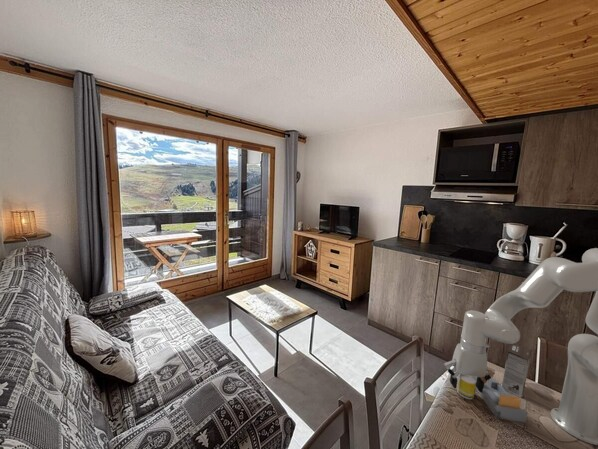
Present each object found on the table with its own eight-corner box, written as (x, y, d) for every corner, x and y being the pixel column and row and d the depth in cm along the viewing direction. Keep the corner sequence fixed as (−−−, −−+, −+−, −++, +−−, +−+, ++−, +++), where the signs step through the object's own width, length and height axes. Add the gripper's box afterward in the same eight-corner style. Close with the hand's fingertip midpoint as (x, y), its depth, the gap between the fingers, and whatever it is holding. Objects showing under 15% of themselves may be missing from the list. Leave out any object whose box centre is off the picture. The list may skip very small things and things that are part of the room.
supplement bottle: (476, 401, 91) (480, 377, 90) (460, 398, 92) (464, 374, 91) (469, 389, 96) (473, 366, 95) (454, 387, 97) (457, 364, 96)
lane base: (496, 386, 99) (497, 377, 98) (525, 422, 83) (527, 412, 82) (471, 382, 100) (473, 373, 99) (496, 417, 84) (497, 407, 84)
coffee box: (504, 377, 104) (510, 341, 102) (525, 386, 99) (532, 349, 97) (500, 388, 98) (507, 350, 96) (522, 398, 93) (529, 359, 91)
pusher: (502, 397, 92) (505, 382, 91) (518, 416, 84) (521, 399, 84) (485, 394, 93) (488, 379, 92) (499, 412, 85) (501, 396, 84)
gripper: (492, 342, 94) (485, 384, 96) (443, 335, 96) (437, 376, 99) (505, 355, 86) (497, 399, 89) (451, 347, 89) (445, 391, 91)
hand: (465, 387), depth 94 cm, fingers open, 8 cm apart
